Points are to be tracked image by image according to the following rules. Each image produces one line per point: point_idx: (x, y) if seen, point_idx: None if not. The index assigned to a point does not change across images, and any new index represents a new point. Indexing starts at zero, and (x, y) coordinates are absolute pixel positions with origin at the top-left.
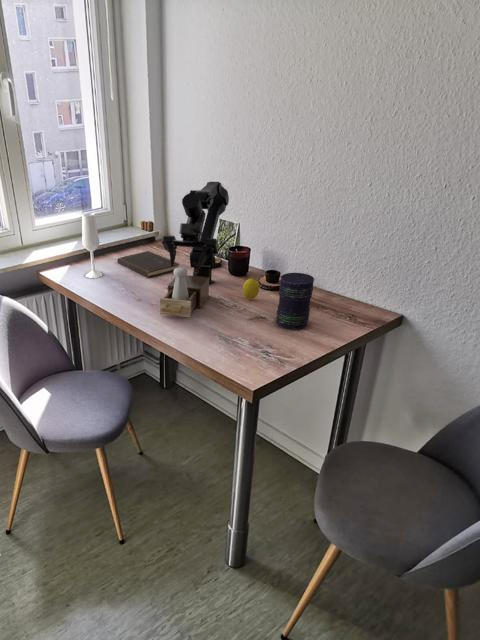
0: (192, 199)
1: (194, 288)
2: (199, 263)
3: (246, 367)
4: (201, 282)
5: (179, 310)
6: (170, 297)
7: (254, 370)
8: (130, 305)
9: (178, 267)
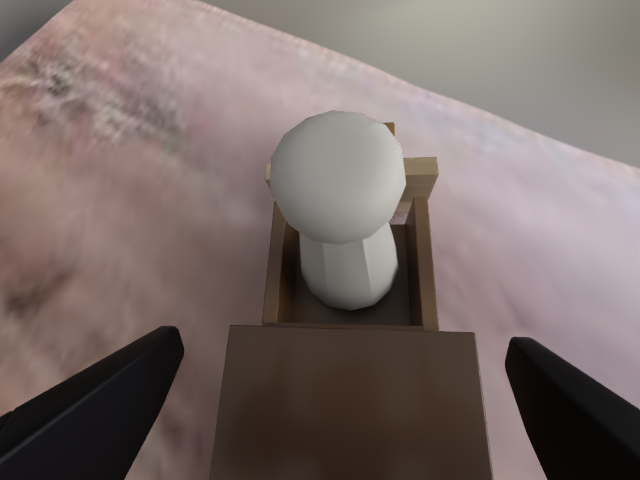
0: None
1: (270, 326)
2: (124, 356)
3: (113, 22)
4: (238, 466)
5: None
6: (413, 275)
7: (97, 19)
8: (634, 283)
9: (367, 186)
